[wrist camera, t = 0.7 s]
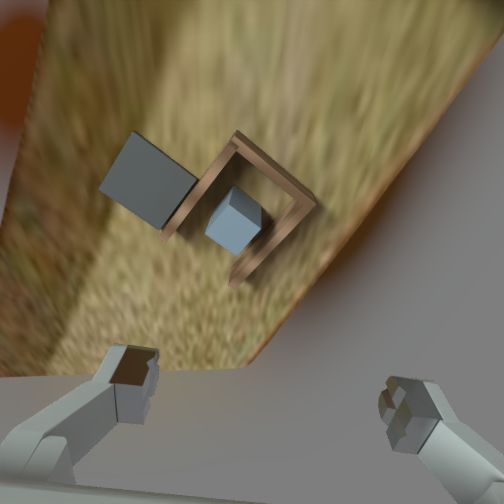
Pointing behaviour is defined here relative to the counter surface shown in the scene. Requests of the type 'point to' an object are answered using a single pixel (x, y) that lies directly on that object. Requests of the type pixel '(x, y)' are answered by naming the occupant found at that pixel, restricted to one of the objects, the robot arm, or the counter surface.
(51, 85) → the counter surface
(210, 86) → the counter surface
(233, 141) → the frame
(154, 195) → the pad
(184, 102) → the counter surface
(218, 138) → the counter surface
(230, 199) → the block
